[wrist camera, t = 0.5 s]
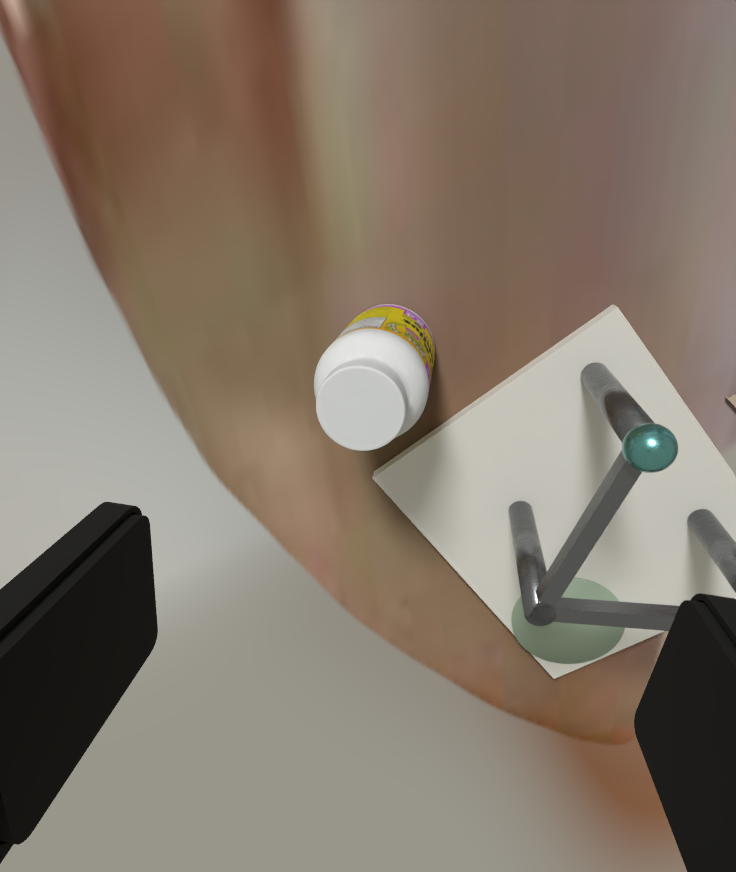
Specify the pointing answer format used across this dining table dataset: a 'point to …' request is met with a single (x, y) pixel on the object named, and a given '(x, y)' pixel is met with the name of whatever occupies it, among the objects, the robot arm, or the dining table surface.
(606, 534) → the buzz board
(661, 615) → the bent wire
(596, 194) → the dining table surface
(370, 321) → the supplement bottle
